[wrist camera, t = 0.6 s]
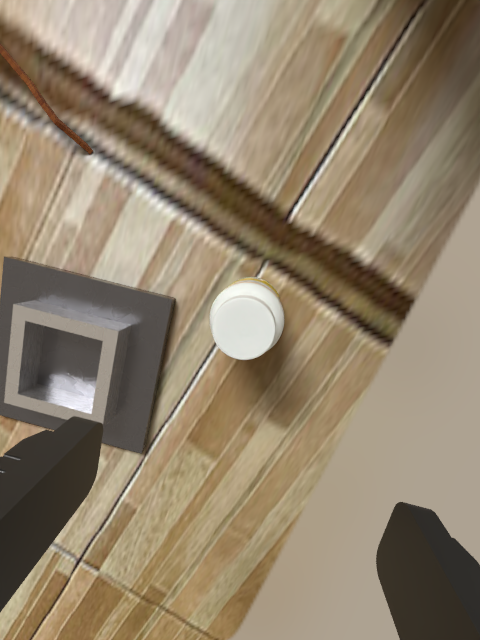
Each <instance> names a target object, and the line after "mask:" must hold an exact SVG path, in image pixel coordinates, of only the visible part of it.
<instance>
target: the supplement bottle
mask: <svg viewBox="0 0 480 640" xmlns="http://www.w3.org/2000/svg"><path fill="white" fill-rule="evenodd" d="M283 327H284V312H283V308H282V304H281V302H280V298H279V295H278V293H277V291H276V290H275V288H274V287H273V286H272V285H271V284H270V283H268V282H267V281H265V280H263V279H260V278H256V277H246V278H242V279H239V280H237V281H235V282H234V283H232V284H231V285H230V286H229V287H227V288H226V289H224V290H223V291H222V292H221V293H220V294H219V295H218V296H217V298H216V299H215V301H214V303H213V305H212V307H211V311H210V328H211V331H212V334H213V338H214V340H215V342H216V344H217V346H218V347H219V348H220V349H221V351H223V352H224V353H225V354H226V355H228V356H230V357H232V358H235V359H239V360H250V359H254V358H257V357H259V356H261V355H262V354H264V353H265V352H266V351H268V350H269V349H271V348H272V347H273V346H274V345H275V344H276V343H277V341H278V340H279V338H280V336H281V334H282V331H283Z"/></svg>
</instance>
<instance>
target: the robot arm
mask: <svg viewBox="0 0 480 640" xmlns="http://www.w3.org/2000/svg"><path fill="white" fill-rule="evenodd" d="M102 436H103V424H102V423H100V422H96V421H93V420H89V419H85V418H81V417H77V416H73V417H71V418H69V419H68V420H67V421H66V422H65V423H63V424H62V425H61V426H60V427H59V428H57V429H56V430H55V431H54V432H52V431H48V430H45V431H42V432H40V433H37V434H35V435H33V436H30V437H28V438H25V439H23V440H22V441H20V442H19V443H18V444H16V445H15V446H14V447H13V448H11V449H10V450H9V451H7V452H6V453H5V454H4V456H3V457H0V612H1V611H2V609H3V608H4V607H5V605H6V604H7V603H8V601H9V600H10V599H11V597H12V596H13V595H14V593H15V592H16V590H17V589H18V588H19V586H20V585H21V584H22V582H23V581H24V580H25V578H26V577H27V576H28V574H29V573H30V572H31V570H32V569H33V568H34V566H35V565H36V564H37V562H38V561H39V560H40V558H41V557H42V556H43V554H44V553H45V552H46V550H47V549H48V548H49V546H50V545H51V544H52V542H53V541H54V540H55V538H56V537H57V536H58V534H59V533H60V532H61V530H62V529H63V527H64V526H65V525H66V523H67V522H68V521H69V519H70V518H71V517H72V515H73V514H74V513H75V511H76V510H77V509H78V507H79V506H80V505H81V503H82V502H83V501H84V499H85V498H86V497H87V495H88V493H89V492H90V490H91V488H92V486H93V483H94V481H95V478H96V474H97V470H98V463H99V456H100V449H101V442H102ZM376 562H377V563H376V564H377V572H378V577H379V580H380V583H381V585H382V589H383V592H384V594H385V597H386V600H387V603H388V606H389V609H390V612H391V615H392V617H393V621H394V624H395V626H396V629H397V632H398V635H399V638H400V640H480V565H479V564H478V562H477V561H476V560H475V559H474V558H473V557H472V556H471V555H470V554H469V553H468V552H467V551H466V550H465V549H464V548H463V547H462V546H461V545H460V544H459V543H458V542H457V541H456V539H454V538H451V536H450V535H449V533H448V531H447V530H446V528H445V527H444V525H443V524H442V522H441V521H440V519H439V518H438V516H437V515H436V513H435V512H433V511H432V510H430V509H426V508H423V507H419V506H415V505H411V504H408V503H403V502H399V503H397V504H396V506H395V507H394V510H393V512H392V514H391V517H390V520H389V522H388V524H387V527H386V529H385V532H384V534H383V537H382V539H381V542H380V544H379V547H378V550H377V558H376Z"/></svg>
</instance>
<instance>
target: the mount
mask: <svg viewBox="0 0 480 640" xmlns="http://www.w3.org/2000/svg"><path fill="white" fill-rule="evenodd" d="M174 303H175V298H173V297H169V296H165V295H161V294H157V293H153V292H149V291H145V290H141V289H137V288H133V287H129V286H125V285H122V284H118V283H114V282H110V281H106V280H102V279H98V278H94V277H90V276H86V275H82V274H78V273H74V272H71V271H67V270H63V269H59V268H55V267H51V266H47V265H43V264H39V263H35V262H31V261H27V260H24V259H20V258H16V257H4V264H3V275H2V287H1V299H0V415H2V416H5V417H9V418H13V419H16V420H20V421H24V422H27V423H31V424H35V425H38V426H42V427H46V428H49V429H53V430H56V429H57V428H59V427H60V426H61V425H62V424H63V423H65V422H66V421H67V420H68V419H69V418H71V417H73V416H77V417H81V418H85V419H89V420H93V421H96V422H100V423H102V424H103V436H102V442H101V443H104V444H108V445H112V446H115V447H119V448H123V449H126V450H130V451H134V452H138V453H141V454H142V452H143V450H144V449H145V446H146V441H147V436H148V432H149V427H150V422H151V417H152V412H153V407H154V402H155V397H156V392H157V387H158V382H159V377H160V372H161V367H162V362H163V357H164V352H165V347H166V342H167V337H168V333H169V328H170V323H171V318H172V313H173V308H174Z"/></svg>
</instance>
